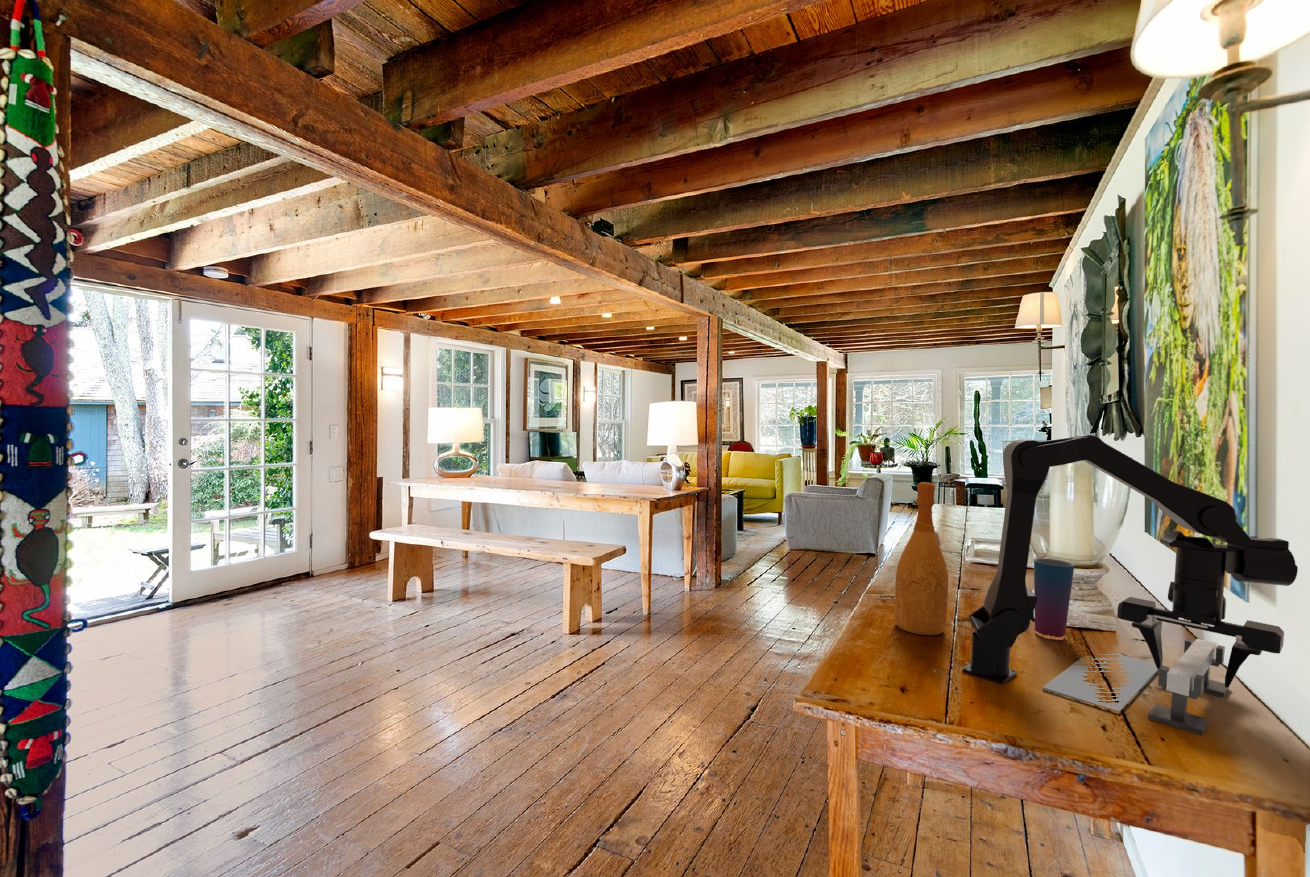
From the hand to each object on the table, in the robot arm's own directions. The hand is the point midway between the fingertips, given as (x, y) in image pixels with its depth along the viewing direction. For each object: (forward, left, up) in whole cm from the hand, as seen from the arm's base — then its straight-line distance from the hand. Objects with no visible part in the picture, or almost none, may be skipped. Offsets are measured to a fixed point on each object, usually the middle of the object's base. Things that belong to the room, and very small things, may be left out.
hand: (1192, 677), depth 95 cm
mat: (0, +11, -4) cm, 12 cm away
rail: (0, 0, +1) cm, 1 cm away
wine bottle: (-2, +42, -4) cm, 42 cm away
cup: (+16, +24, -4) cm, 29 cm away
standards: (0, 0, -4) cm, 4 cm away
